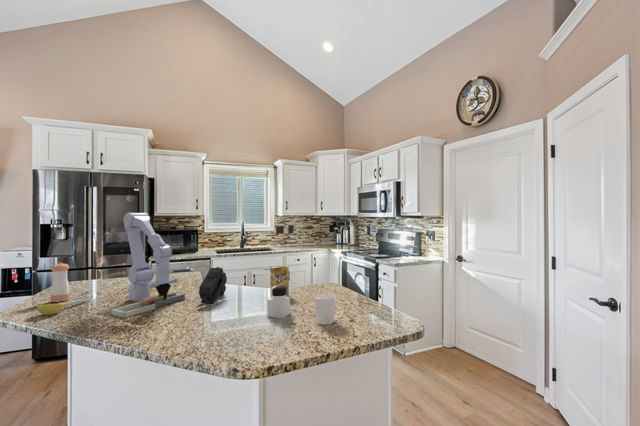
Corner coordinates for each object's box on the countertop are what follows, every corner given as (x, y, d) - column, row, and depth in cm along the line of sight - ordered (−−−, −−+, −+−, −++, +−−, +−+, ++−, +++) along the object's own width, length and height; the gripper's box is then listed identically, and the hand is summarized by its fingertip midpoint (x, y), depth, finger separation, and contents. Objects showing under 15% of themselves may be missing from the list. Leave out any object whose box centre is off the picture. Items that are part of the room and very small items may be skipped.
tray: (110, 316, 127) (110, 309, 127) (141, 308, 139) (141, 301, 139) (124, 320, 123) (124, 312, 123) (155, 310, 135) (155, 303, 135)
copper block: (141, 307, 136) (141, 298, 136) (149, 305, 140) (149, 296, 140) (147, 308, 134) (146, 299, 134) (155, 306, 138) (155, 297, 138)
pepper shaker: (61, 302, 148) (61, 263, 148) (46, 302, 148) (46, 263, 149) (73, 298, 156) (73, 261, 156) (59, 298, 156) (59, 261, 156)
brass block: (149, 305, 140) (149, 296, 140) (157, 303, 143) (157, 294, 143) (155, 306, 138) (155, 297, 138) (163, 304, 141) (163, 295, 141)
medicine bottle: (290, 313, 129) (290, 285, 129) (281, 319, 123) (281, 289, 123) (276, 311, 132) (276, 284, 132) (266, 316, 126) (266, 287, 126)
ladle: (28, 316, 126) (31, 302, 127) (79, 311, 151) (81, 299, 153) (49, 316, 125) (52, 301, 127) (97, 310, 151) (98, 298, 153)
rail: (141, 307, 139) (141, 300, 139) (172, 299, 154) (172, 292, 154) (156, 310, 135) (156, 302, 135) (186, 301, 149) (186, 294, 149)
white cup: (320, 327, 114) (320, 300, 114) (311, 320, 121) (311, 295, 121) (338, 323, 118) (338, 297, 118) (328, 317, 125) (328, 293, 125)
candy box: (273, 298, 154) (273, 268, 154) (270, 296, 158) (270, 266, 158) (289, 295, 159) (288, 266, 159) (285, 293, 163) (285, 265, 163)
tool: (230, 288, 163) (224, 264, 155) (215, 318, 145) (207, 293, 137) (218, 287, 164) (211, 263, 156) (202, 318, 146) (193, 293, 138)
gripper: (154, 274, 135) (154, 305, 135) (181, 269, 148) (182, 297, 148) (144, 273, 138) (144, 303, 138) (171, 268, 151) (172, 295, 151)
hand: (163, 300), depth 143 cm, fingers closed
